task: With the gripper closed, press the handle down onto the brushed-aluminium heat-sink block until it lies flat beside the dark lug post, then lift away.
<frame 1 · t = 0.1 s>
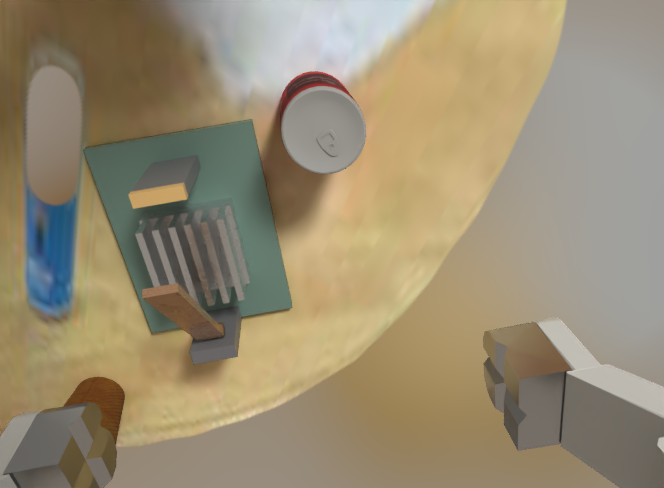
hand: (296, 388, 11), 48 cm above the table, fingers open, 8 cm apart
canned food: (315, 107, 56), on the table
board: (198, 232, 61), on the table
disposable coffee cup: (101, 393, 70), on the table
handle: (190, 313, 51), point 12 cm above the table, hinge at 40.0°
heatsink: (200, 240, 61), resting on board
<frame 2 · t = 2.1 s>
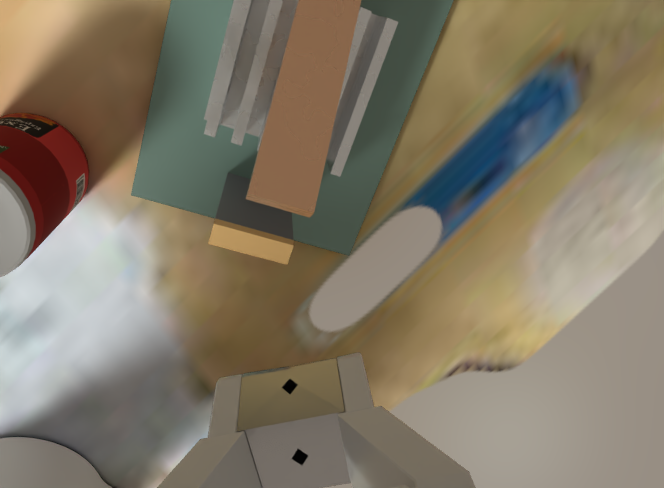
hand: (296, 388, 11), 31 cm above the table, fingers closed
canned food: (40, 162, 39), on the table
board: (290, 78, 38), on the table
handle: (316, 52, 25), point 12 cm above the table, hinge at 40.0°
heatsink: (294, 65, 37), resting on board
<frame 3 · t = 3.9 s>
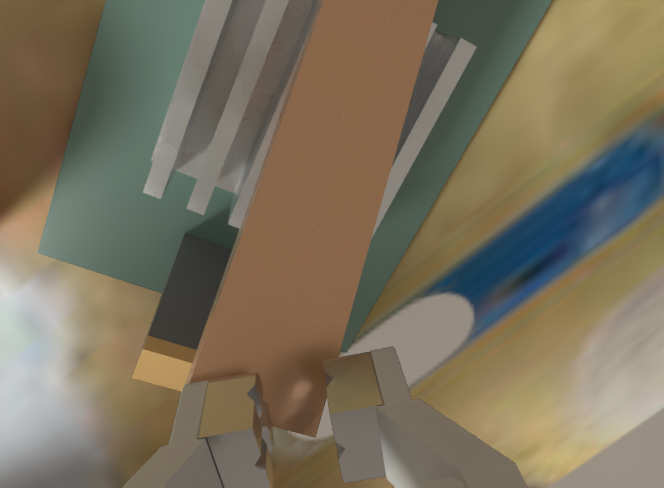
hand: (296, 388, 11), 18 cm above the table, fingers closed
board: (288, 107, 26), on the table
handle: (345, 98, 14), point 12 cm above the table, hinge at 37.2°, touching gripper
heatsink: (297, 89, 25), resting on board
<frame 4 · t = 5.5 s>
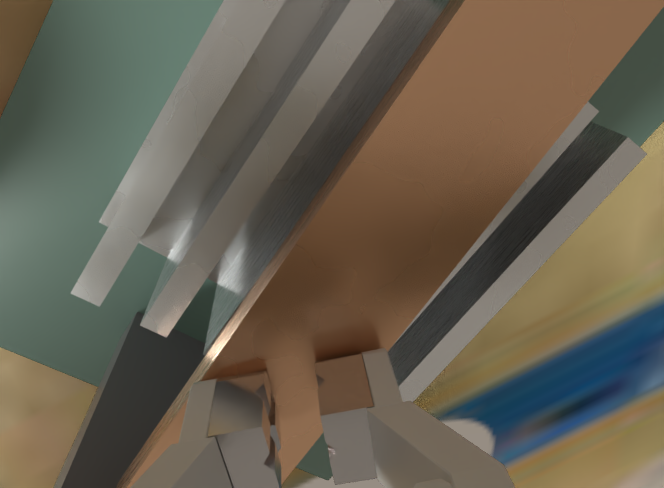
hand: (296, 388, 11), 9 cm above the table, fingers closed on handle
board: (312, 165, 18), on the table
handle: (377, 230, 11), point 8 cm above the table, hinge at 4.6°, touching gripper
heatsink: (328, 142, 18), resting on board
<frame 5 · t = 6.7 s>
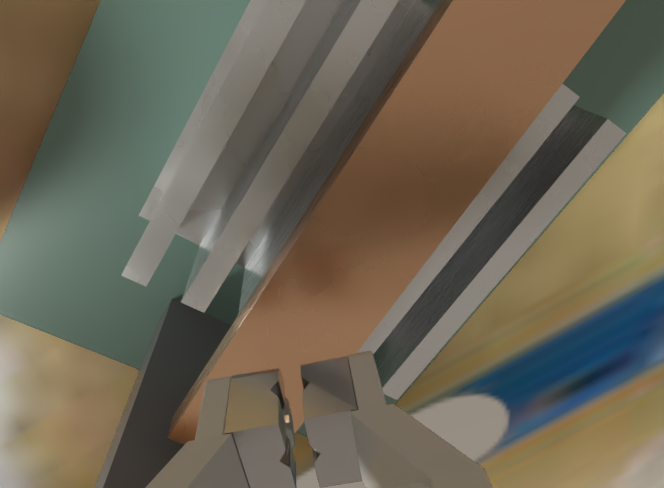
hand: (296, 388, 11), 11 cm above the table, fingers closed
board: (327, 158, 20), on the table
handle: (381, 203, 12), point 8 cm above the table, hinge at 1.5°
heatsink: (341, 137, 19), resting on board
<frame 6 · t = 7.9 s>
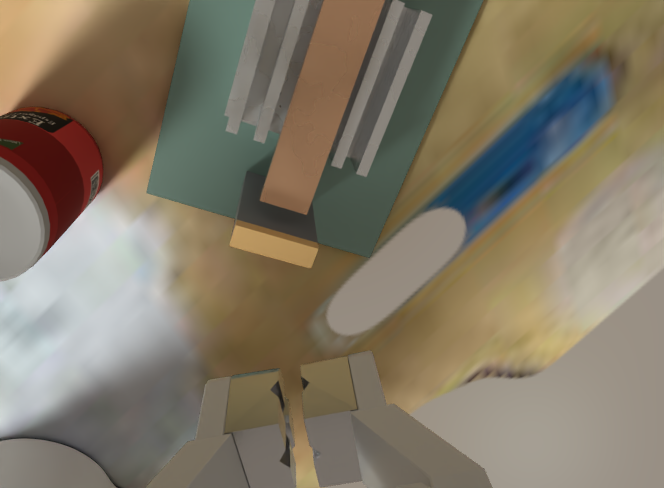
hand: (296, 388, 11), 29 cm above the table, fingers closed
canned food: (53, 158, 37), on the table
board: (313, 73, 36), on the table
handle: (329, 69, 29), point 8 cm above the table, hinge at 1.5°
heatsink: (318, 59, 36), resting on board
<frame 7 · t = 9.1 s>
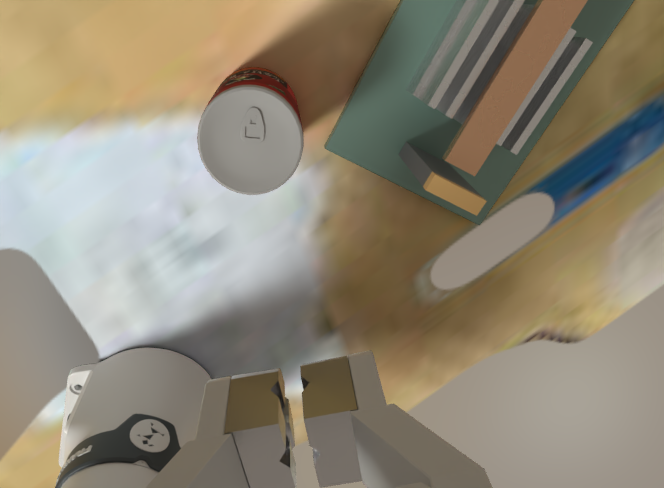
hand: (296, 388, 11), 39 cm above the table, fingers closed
canned food: (256, 111, 47), on the table
board: (471, 73, 47), on the table
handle: (516, 70, 39), point 8 cm above the table, hinge at 1.5°
heatsink: (477, 63, 47), resting on board
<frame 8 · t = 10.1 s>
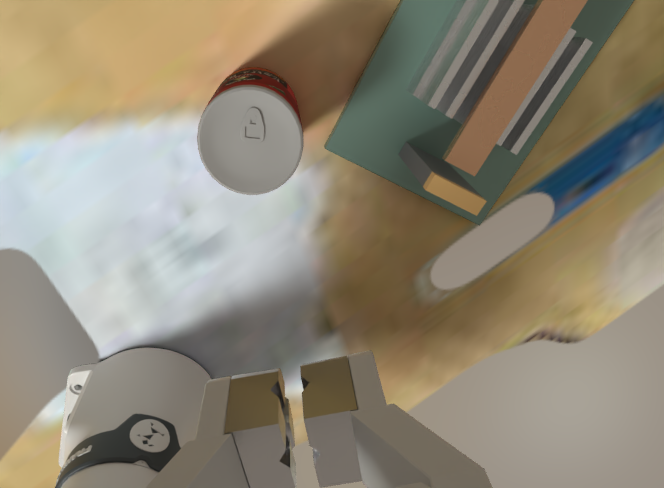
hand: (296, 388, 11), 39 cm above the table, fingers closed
canned food: (256, 111, 47), on the table
board: (471, 73, 47), on the table
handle: (516, 70, 40), point 8 cm above the table, hinge at 1.5°
heatsink: (477, 63, 47), resting on board
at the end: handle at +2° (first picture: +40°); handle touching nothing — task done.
